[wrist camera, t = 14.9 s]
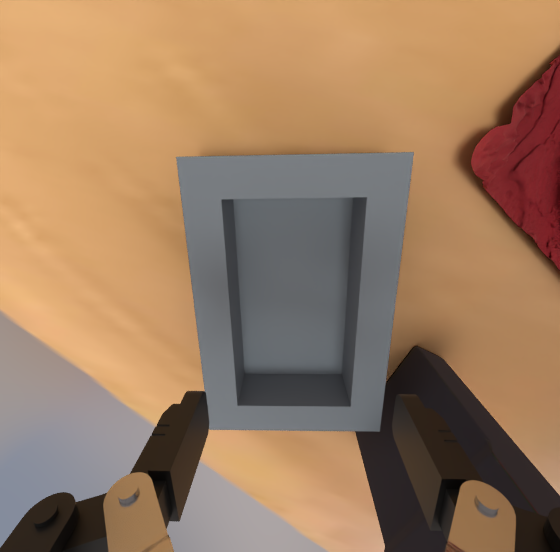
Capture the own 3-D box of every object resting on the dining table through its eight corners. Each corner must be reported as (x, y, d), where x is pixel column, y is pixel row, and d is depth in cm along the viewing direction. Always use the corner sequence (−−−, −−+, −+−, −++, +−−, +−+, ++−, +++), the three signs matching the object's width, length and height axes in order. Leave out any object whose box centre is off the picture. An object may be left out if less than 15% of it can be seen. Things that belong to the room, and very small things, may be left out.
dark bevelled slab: (383, 438, 30) (466, 668, 16) (347, 423, 30) (401, 647, 16) (448, 359, 27) (625, 560, 13) (409, 340, 27) (549, 529, 12)
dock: (386, 157, 22) (413, 152, 17) (364, 389, 28) (379, 431, 24) (200, 161, 22) (176, 156, 17) (222, 388, 29) (209, 429, 24)
